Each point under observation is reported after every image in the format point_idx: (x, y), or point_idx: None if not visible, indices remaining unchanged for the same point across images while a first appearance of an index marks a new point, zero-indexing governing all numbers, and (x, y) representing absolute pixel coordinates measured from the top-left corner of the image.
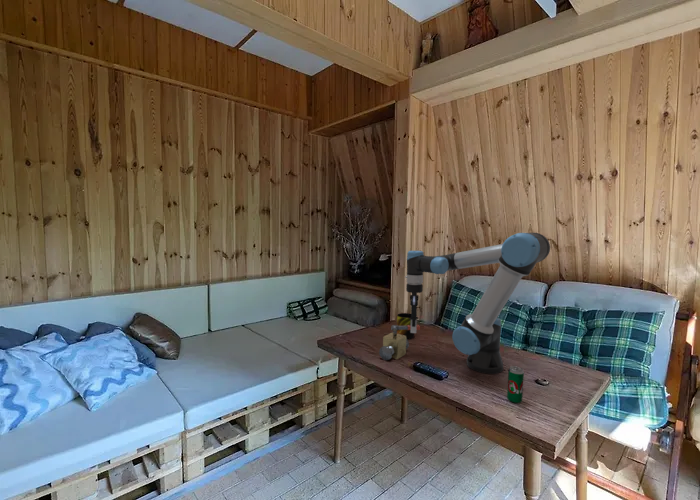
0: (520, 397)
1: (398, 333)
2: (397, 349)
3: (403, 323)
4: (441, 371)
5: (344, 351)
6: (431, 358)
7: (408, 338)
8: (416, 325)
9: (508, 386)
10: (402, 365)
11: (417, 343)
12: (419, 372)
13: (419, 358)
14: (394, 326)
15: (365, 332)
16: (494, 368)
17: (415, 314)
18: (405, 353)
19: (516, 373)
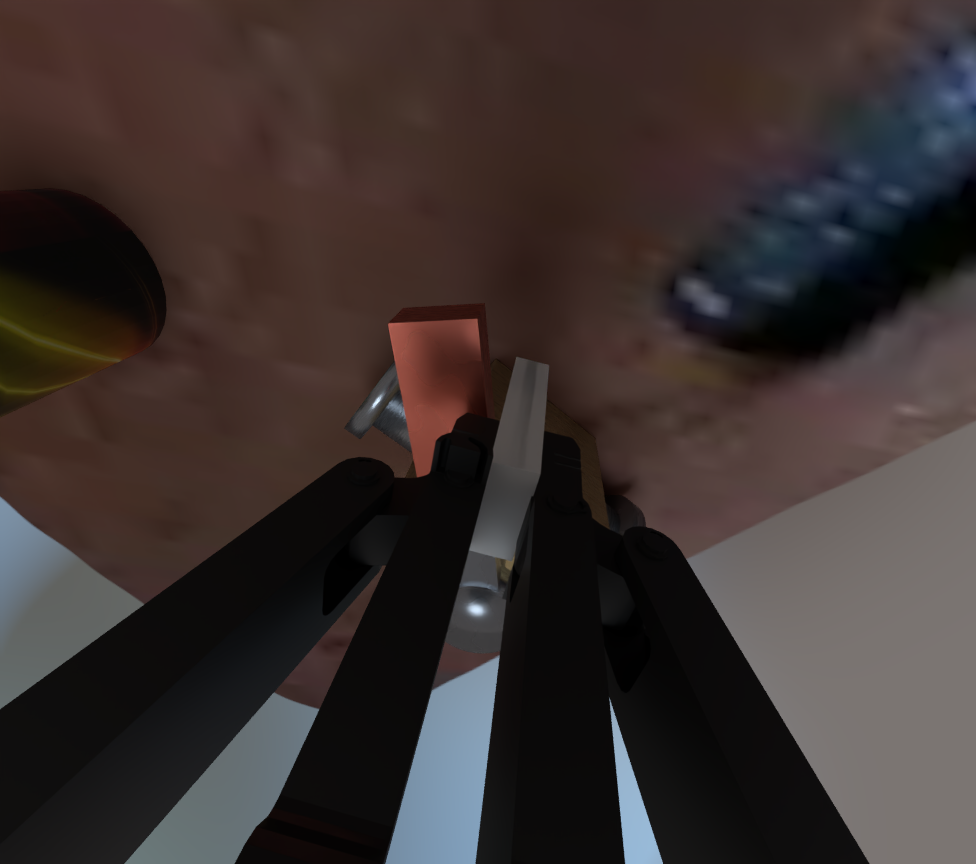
0: None
1: (114, 362)
2: (601, 483)
3: (29, 368)
4: (933, 104)
5: (462, 671)
6: (605, 133)
7: (147, 267)
8: (543, 415)
9: None
10: (708, 425)
11: (229, 194)
12: (871, 328)
13: (593, 261)
14: (488, 630)
15: (123, 547)
16: None
17: (733, 672)
18: (499, 364)
19: None
